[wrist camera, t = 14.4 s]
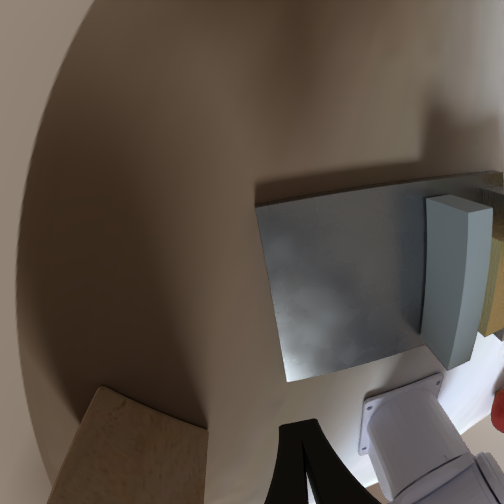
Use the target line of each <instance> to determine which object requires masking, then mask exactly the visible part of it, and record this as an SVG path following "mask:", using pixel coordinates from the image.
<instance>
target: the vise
mask: <svg viewBox="0 0 504 504" xmlns="http://www.w3.org/2000/svg"><path fill="white" fill-rule="evenodd" d="M444 195H454V196H457V197H460V198H464V199H467V200H470V201H473V202H476V203H479V204H483V205H486V206H489V207H492V208H493V215H495V216H497V217H500V218H503V219H504V186H503V172H498V171H485V172H475V173H464V174H455V175H445V176H437V177H428V178H420V179H412V180H404V181H396V182H389V183H382V184H375V185H368V186H361V187H354V188H348V189H341V190H335V191H329V192H323V193H317V194H311V195H305V196H299V197H293V198H288V199H282V200H277V201H271V202H266V203H261V204H255V210H256V216H257V221H258V226H259V231H260V237H261V242H262V247H263V253H264V258H265V263H266V269H267V274H268V279H269V285H270V290H271V296H272V301H273V307H274V312H275V318H276V323H277V329H278V334H279V340H280V345H281V351H282V357H283V362H284V368H285V374H286V379H287V382H290V381H295V380H300V379H305V378H309V377H314V376H318V375H322V374H327V373H331V372H335V371H339V370H343V369H347V368H350V367H354V366H358V365H361V364H365V363H369V362H372V361H375V360H379V359H382V358H385V357H388V356H392V355H395V354H398V353H401V352H404V351H407V350H410V349H413V348H416V347H418V346H421V345H424V344H425V343H424V342H423V340H422V339H421V338H420V335H421V328H422V319H423V309H424V298H425V285H426V265H427V208H426V198H431V197H437V196H444ZM493 334H494V335H495V336H496V337H497V338H498V339H499V340H500V341H501V342H502V341H503V340H504V328H502V329H500V330H498V331H496V332H494V333H493Z"/></svg>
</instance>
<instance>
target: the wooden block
mask: <svg viewBox="0 0 504 504" xmlns="http://www.w3.org/2000/svg"><path fill="white" fill-rule="evenodd" d="M208 435H209V433H208V431H207V430H206V429H203V428H200V427H198V426H195V425H192V424H189V423H186V422H184V421H181V420H179V419H176V418H173V417H171V416H168V415H166V414H163V413H161V412H159V411H156V410H154V409H152V408H149V407H147V406H145V405H142V404H140V403H138V402H136V401H134V400H132V399H129V398H127V397H125V396H123V395H121V394H119V393H117V392H115V391H113V390H111V389H109V388H107V387H105V386H100V387H99V388H98V389H97V390H96V392H95V394H94V396H93V399H92V401H91V403H90V405H89V407H88V409H87V411H86V413H85V415H84V417H83V419H82V421H81V423H80V426H79V428H78V430H77V432H76V434H75V437H74V439H73V441H72V443H71V445H70V448H69V450H68V452H67V455H66V457H65V459H64V462H63V464H62V466H61V469H60V471H59V473H58V476H57V478H56V481H55V483H54V486H53V488H52V491H51V494H50V496H49V499H48V501H47V504H204V490H205V475H206V461H207V448H208Z"/></svg>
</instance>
